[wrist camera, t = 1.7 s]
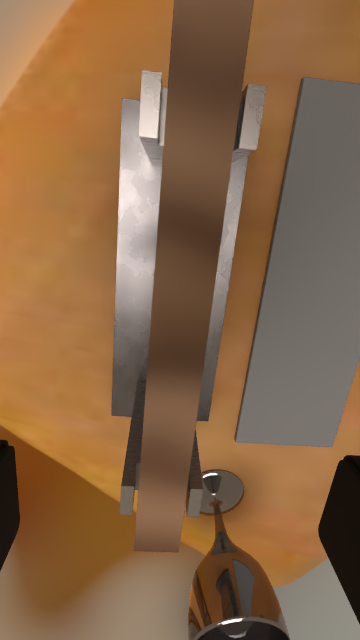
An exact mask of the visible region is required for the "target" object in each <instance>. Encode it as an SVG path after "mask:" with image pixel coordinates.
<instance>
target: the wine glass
mask: <svg viewBox="0 0 360 640" xmlns="http://www.w3.org/2000/svg"><path fill="white" fill-rule="evenodd" d="M201 476H202V484H203V494H202V500H201V506H200V514H204V515H214V516H215V540H214V543H213V546H212V548H211V549H210V551H209V552H208V553H207V554H206V556H205V557H204V558H203V559H202V561H201V562H200V564H199V565H198V567H197V569H196V571H195V573H194V576H193V580H192V584H191V591H190V600H189V613H188V637H189V640H290V637H289V634H288V630H287V626H286V623H285V620H284V617H283V614H282V611H281V608H280V604H279V601H278V599H277V597H276V594H275V592H274V589H273V587H272V585H271V583H270V581H269V579H268V577H267V575H266V573H265V571H264V570H263V568H262V567H261V565H260V564H259V562H257V561H256V560H255V559H254V558H253V557H252V556H251V555H250V554H248V553H247V552H245V551H244V550H242V549H241V548H239V547H238V546H236V545H235V544H234V543H233V542H232V541H231V540H230V538H229V537H228V535H227V532H226V529H225V526H224V523H223V519H222V515H221V514H224V513H227V512H229V511H231V510H233V509H234V508H235V507H236V506H237V505H238V504H239V503H240V502H241V500H242V498H243V495H244V487H243V484H242V482H241V480H240V479H239V478H238V477H237V476H236V475H234V474H233V473H231V472H228V471H225V470H208V471H205V472H202V473H201Z"/></svg>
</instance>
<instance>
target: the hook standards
mask: <svg viewBox="0 0 360 640" xmlns="http://www.w3.org/2000/svg"><path fill="white" fill-rule="evenodd" d="M266 88H267V86H260V85H252V84H248V85H247V86H246V87H245V89H244V90H243V92H242V93H241V98H240V106H239V113H238V120H237V128H236V135H235V142H234V150H233V157H232V164H231V172H230V179H229V186H228V194H227V201H226V208H225V216H224V223H223V230H222V237H221V245H220V252H219V259H218V267H217V274H216V281H215V289H214V296H213V303H212V311H211V318H210V325H209V333H208V340H207V347H206V355H205V362H204V369H203V377H202V384H201V391H200V398H199V406H198V413H197V420H196V421H208V419H209V412H210V406H211V399H212V393H213V386H214V379H215V373H216V366H217V359H218V353H219V346H220V339H221V333H222V326H223V320H224V313H225V306H226V300H227V293H228V286H229V280H230V273H231V267H232V260H233V253H234V247H235V240H236V233H237V227H238V220H239V214H240V207H241V200H242V194H243V187H244V180H245V174H246V167H247V161H248V154H250V153H252V152H254V151H256V150H257V145H258V139H259V133H260V126H261V120H262V114H263V107H264V101H265V95H266ZM167 92H168V88H162V73H160V72H152V71H145V70H142V81H141V101H140V100H132V99H124V98H122V123H121V152H120V181H119V211H118V240H117V269H116V299H115V328H114V357H113V386H112V416H126V417H132V419H131V426H130V432H129V439H128V445H127V452H126V458H125V465H124V471H123V478H122V484H121V501H120V514H125V515H132V511H133V502H134V492H135V490H139V476H140V462H141V449H142V435H143V421H144V407H145V394H146V380H147V366H148V353H149V339H150V325H151V312H152V298H153V284H154V270H155V257H156V243H157V229H158V216H159V202H160V188H161V174H162V161H163V147H164V133H165V120H166V106H167ZM202 494H203V484H202V476H201V469H200V461H199V453H198V445H197V438H196V430H195V435H194V442H193V450H192V457H191V464H190V472H189V479H188V486H187V494H186V512H187V517H199V513H200V506H201V500H202Z"/></svg>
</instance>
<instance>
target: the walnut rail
mask: <svg viewBox="0 0 360 640" xmlns="http://www.w3.org/2000/svg"><path fill="white" fill-rule="evenodd" d="M253 3H254V0H174V10H173V24H172V37H171V51H170V65H169V79H168V92H167V106H166V120H165V133H164V147H163V161H162V174H161V188H160V202H159V216H158V229H157V243H156V257H155V270H154V284H153V298H152V312H151V325H150V339H149V353H148V366H147V380H146V394H145V407H144V421H143V435H142V449H141V462H140V476H139V490H138V503H137V517H136V532H135V545H134V551H149V552H150V551H151V552H179V544H180V537H181V530H182V523H183V516H184V508H185V501H186V494H187V486H188V479H189V472H190V464H191V457H192V450H193V442H194V435H195V428H196V420H197V413H198V406H199V398H200V391H201V384H202V377H203V369H204V362H205V355H206V347H207V340H208V333H209V325H210V318H211V311H212V303H213V296H214V289H215V281H216V274H217V267H218V259H219V252H220V245H221V237H222V230H223V223H224V216H225V208H226V201H227V194H228V186H229V179H230V172H231V164H232V157H233V150H234V142H235V135H236V128H237V120H238V113H239V106H240V98H241V91H242V84H243V77H244V69H245V62H246V55H247V47H248V40H249V33H250V25H251V18H252V11H253Z"/></svg>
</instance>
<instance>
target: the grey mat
mask: <svg viewBox="0 0 360 640" xmlns="http://www.w3.org/2000/svg"><path fill="white" fill-rule="evenodd" d="M359 359H360V84H355V83H347V82H340V81H332V80H325V79H318V78H310V77H304V78H303V79H302V80H301V85H300V90H299V96H298V101H297V107H296V112H295V117H294V123H293V128H292V133H291V139H290V144H289V149H288V155H287V160H286V166H285V171H284V176H283V182H282V187H281V192H280V198H279V203H278V208H277V214H276V219H275V224H274V230H273V235H272V241H271V246H270V251H269V257H268V262H267V267H266V273H265V278H264V283H263V289H262V294H261V300H260V305H259V310H258V316H257V321H256V326H255V332H254V337H253V342H252V348H251V353H250V358H249V364H248V369H247V375H246V380H245V385H244V391H243V396H242V401H241V407H240V412H239V417H238V423H237V428H236V434H235V442H238V443H257V444H276V445H295V446H314V447H332V446H333V443H334V439H335V436H336V433H337V430H338V426H339V423H340V420H341V417H342V414H343V410H344V407H345V404H346V401H347V397H348V394H349V391H350V388H351V385H352V381H353V378H354V375H355V372H356V368H357V365H358V362H359Z"/></svg>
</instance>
